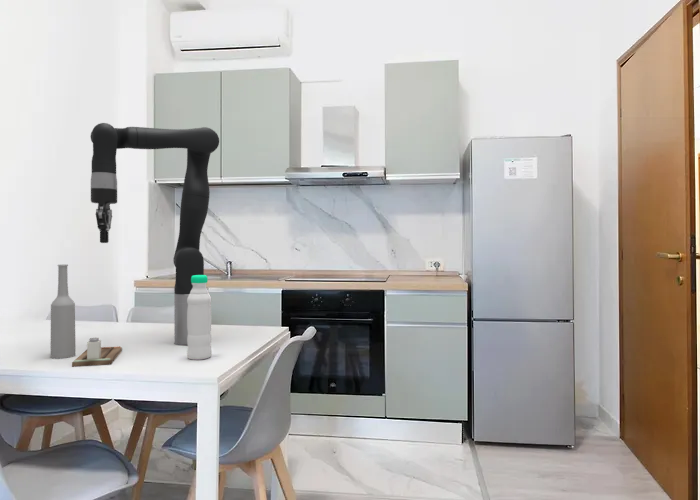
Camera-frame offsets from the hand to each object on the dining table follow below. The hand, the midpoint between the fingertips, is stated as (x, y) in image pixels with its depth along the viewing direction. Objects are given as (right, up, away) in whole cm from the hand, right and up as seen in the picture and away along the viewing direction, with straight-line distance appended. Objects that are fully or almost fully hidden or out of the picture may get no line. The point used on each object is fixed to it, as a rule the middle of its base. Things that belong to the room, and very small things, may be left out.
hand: (104, 242), depth 153 cm
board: (+2, -35, -8) cm, 36 cm away
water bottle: (+32, -35, -7) cm, 48 cm away
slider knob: (+4, -34, -14) cm, 37 cm away
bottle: (-10, -35, -5) cm, 37 cm away
